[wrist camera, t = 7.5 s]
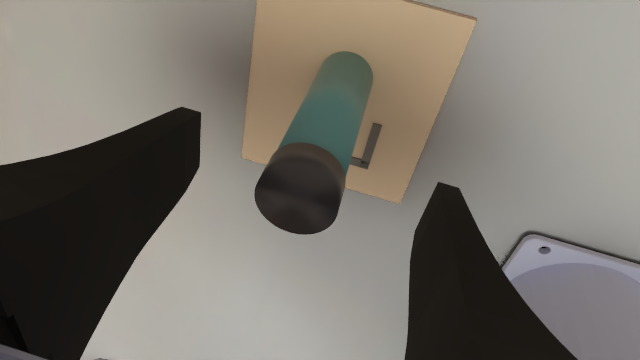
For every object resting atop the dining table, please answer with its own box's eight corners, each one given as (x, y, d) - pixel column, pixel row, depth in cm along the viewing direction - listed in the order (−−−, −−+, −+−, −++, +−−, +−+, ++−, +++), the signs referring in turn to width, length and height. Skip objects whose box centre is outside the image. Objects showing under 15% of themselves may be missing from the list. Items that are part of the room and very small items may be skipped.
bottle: (381, 59, 17) (346, 182, 11) (366, 109, 19) (328, 243, 13) (324, 43, 18) (259, 157, 11) (313, 94, 19) (250, 220, 13)
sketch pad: (476, 17, 16) (476, 22, 16) (400, 200, 22) (399, 205, 22) (263, -40, 16) (259, -37, 16) (243, 154, 22) (240, 158, 22)
